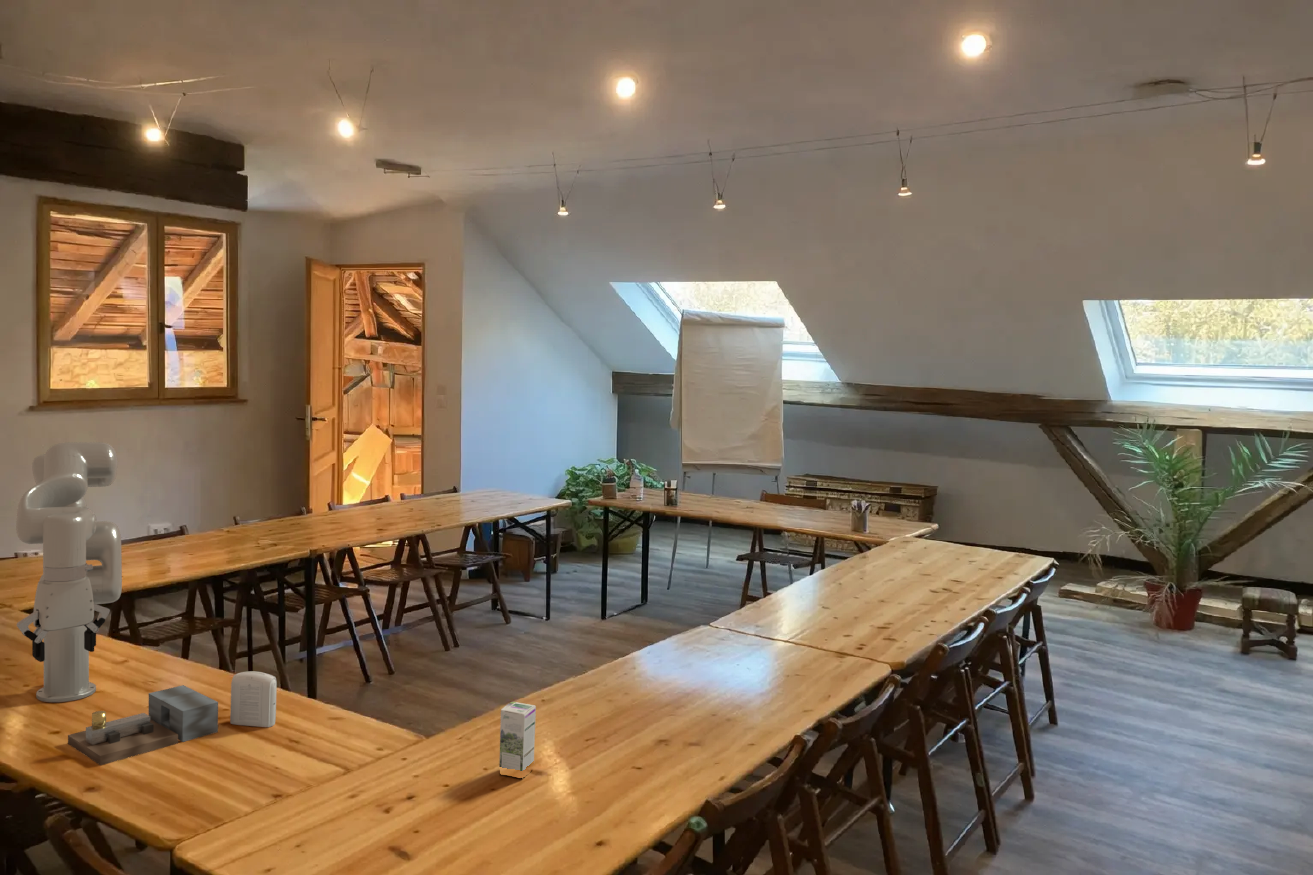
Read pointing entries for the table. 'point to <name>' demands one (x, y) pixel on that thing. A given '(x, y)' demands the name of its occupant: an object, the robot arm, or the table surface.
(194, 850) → the table surface
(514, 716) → the syrup box
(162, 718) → the frame
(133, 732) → the bolt
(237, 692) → the photo printer
